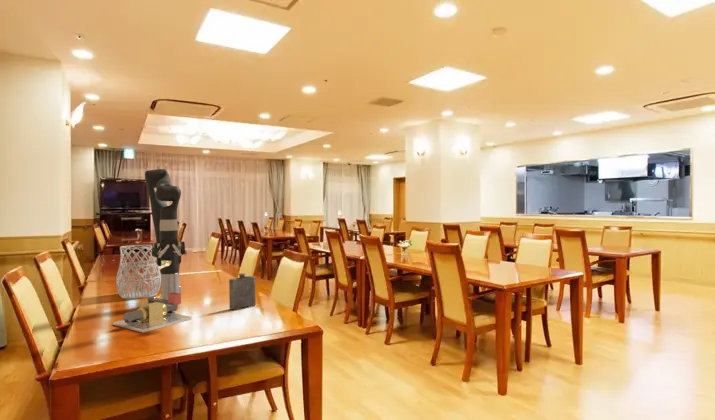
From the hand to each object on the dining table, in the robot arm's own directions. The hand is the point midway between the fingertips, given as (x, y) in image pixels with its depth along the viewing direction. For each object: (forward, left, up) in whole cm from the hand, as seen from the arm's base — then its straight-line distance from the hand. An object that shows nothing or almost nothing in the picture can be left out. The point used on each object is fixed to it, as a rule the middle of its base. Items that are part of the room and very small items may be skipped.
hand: (169, 265), depth 190 cm
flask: (-40, +5, -27) cm, 48 cm away
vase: (-30, -73, -27) cm, 84 cm away
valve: (+1, -11, -27) cm, 29 cm away
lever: (+1, -2, -17) cm, 17 cm away
